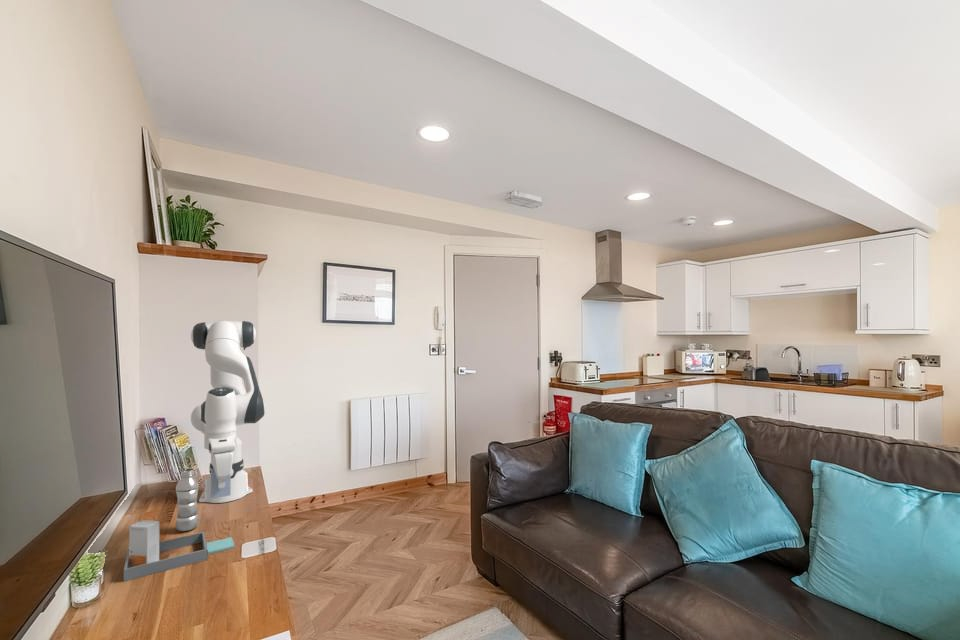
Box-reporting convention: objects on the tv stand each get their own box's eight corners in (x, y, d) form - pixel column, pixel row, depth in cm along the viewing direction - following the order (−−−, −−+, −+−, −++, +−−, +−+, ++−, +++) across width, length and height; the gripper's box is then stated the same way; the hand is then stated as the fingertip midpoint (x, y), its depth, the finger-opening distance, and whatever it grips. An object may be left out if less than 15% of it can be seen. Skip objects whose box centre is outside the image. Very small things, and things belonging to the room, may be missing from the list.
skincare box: (128, 568, 126) (128, 525, 126) (141, 560, 130) (142, 519, 130) (147, 570, 125) (147, 527, 125) (160, 562, 129) (160, 520, 129)
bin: (127, 559, 131) (127, 548, 131) (204, 540, 142) (204, 531, 142) (123, 581, 119) (123, 570, 119) (207, 559, 130) (207, 549, 130)
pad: (206, 545, 139) (206, 543, 139) (231, 538, 143) (231, 537, 143) (208, 554, 133) (207, 552, 133) (234, 547, 137) (234, 545, 137)
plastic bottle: (202, 528, 151) (203, 469, 151) (180, 535, 145) (181, 474, 146) (193, 523, 155) (194, 465, 155) (171, 531, 149) (172, 471, 149)
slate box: (210, 494, 139) (210, 468, 139) (229, 491, 142) (229, 466, 142) (211, 498, 136) (211, 472, 136) (230, 495, 138) (230, 469, 139)
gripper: (206, 435, 146) (206, 477, 145) (211, 449, 129) (211, 497, 129) (228, 432, 149) (228, 474, 149) (236, 445, 132) (236, 492, 132)
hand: (220, 485), depth 139 cm, fingers closed on slate box, 4 cm apart
